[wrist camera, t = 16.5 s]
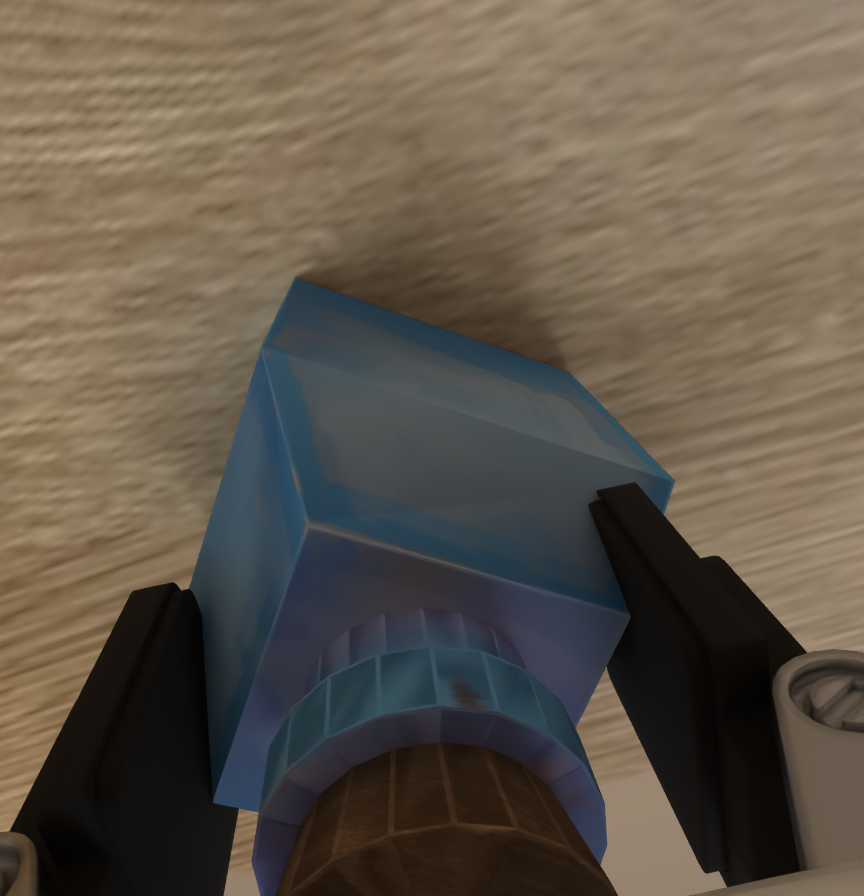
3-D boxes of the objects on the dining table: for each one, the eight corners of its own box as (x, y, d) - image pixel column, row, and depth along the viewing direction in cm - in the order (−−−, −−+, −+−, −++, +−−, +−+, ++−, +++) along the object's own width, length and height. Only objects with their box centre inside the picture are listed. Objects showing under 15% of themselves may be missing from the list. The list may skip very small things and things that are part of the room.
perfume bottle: (215, 538, 18) (-14, 1166, 7) (294, 277, 16) (159, 554, 5) (468, 608, 19) (624, 1236, 8) (569, 372, 17) (950, 765, 6)
